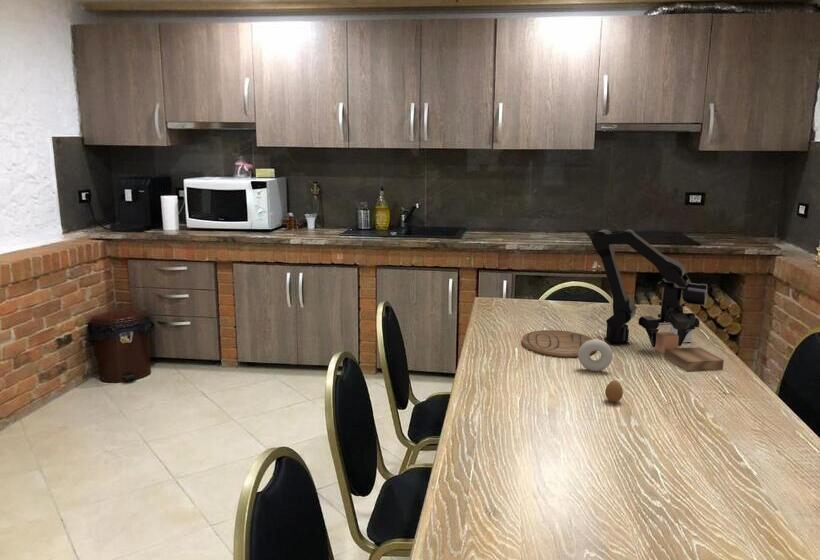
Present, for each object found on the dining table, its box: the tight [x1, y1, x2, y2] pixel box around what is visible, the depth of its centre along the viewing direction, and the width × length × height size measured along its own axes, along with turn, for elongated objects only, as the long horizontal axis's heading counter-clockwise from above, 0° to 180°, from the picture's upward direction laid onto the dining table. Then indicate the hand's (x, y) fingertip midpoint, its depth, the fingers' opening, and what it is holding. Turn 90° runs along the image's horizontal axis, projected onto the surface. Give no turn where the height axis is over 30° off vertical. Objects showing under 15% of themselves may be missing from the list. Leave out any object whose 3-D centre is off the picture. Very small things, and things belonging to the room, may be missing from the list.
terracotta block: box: [654, 330, 679, 355], centre depth 209 cm, size 5×5×6 cm
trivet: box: [521, 329, 598, 359], centre depth 214 cm, size 25×25×2 cm
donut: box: [577, 338, 614, 372], centre depth 190 cm, size 10×4×10 cm, turn 77°
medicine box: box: [669, 324, 693, 344], centre depth 222 cm, size 8×4×9 cm, turn 179°
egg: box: [604, 380, 624, 403], centre depth 169 cm, size 4×4×6 cm
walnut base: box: [664, 346, 725, 372], centre depth 198 cm, size 12×12×3 cm
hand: (666, 346), depth 210 cm, fingers open, 9 cm apart
